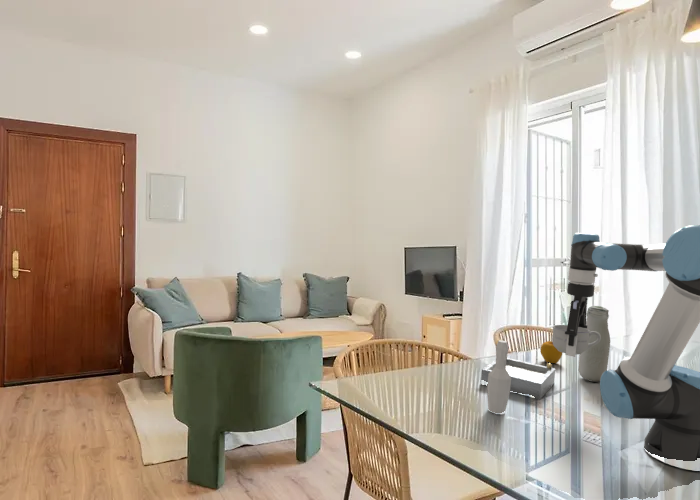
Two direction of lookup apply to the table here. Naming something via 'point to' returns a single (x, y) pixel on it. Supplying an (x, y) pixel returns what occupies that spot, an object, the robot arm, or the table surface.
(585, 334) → the teacup
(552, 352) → the apple
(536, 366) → the grey serving tray
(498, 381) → the low poly bottle
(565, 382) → the table surface
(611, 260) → the robot arm
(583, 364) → the grey bottle
